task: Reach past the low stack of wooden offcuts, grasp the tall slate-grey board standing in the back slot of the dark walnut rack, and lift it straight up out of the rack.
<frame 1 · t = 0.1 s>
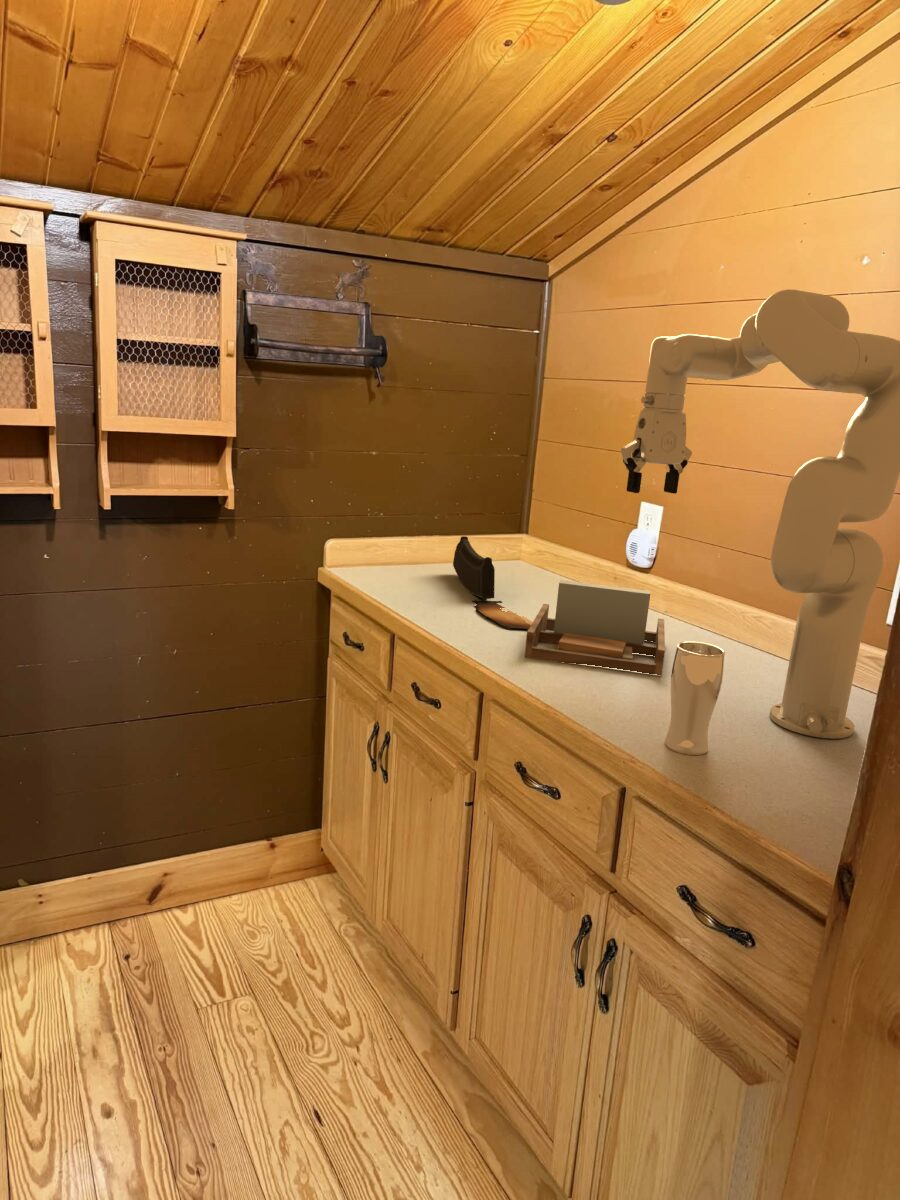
hand: (651, 492, 166), 31 cm above the worktop, tool pointing down, fingers open, 9 cm apart
rack: (596, 648, 167), on the worktop
beer glass: (685, 748, 122), on the worktop
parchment: (501, 618, 187), on the worktop
magazine: (471, 589, 211), on the worktop
offcut stack: (593, 659, 161), resting in rack
tall board: (597, 644, 171), resting in rack
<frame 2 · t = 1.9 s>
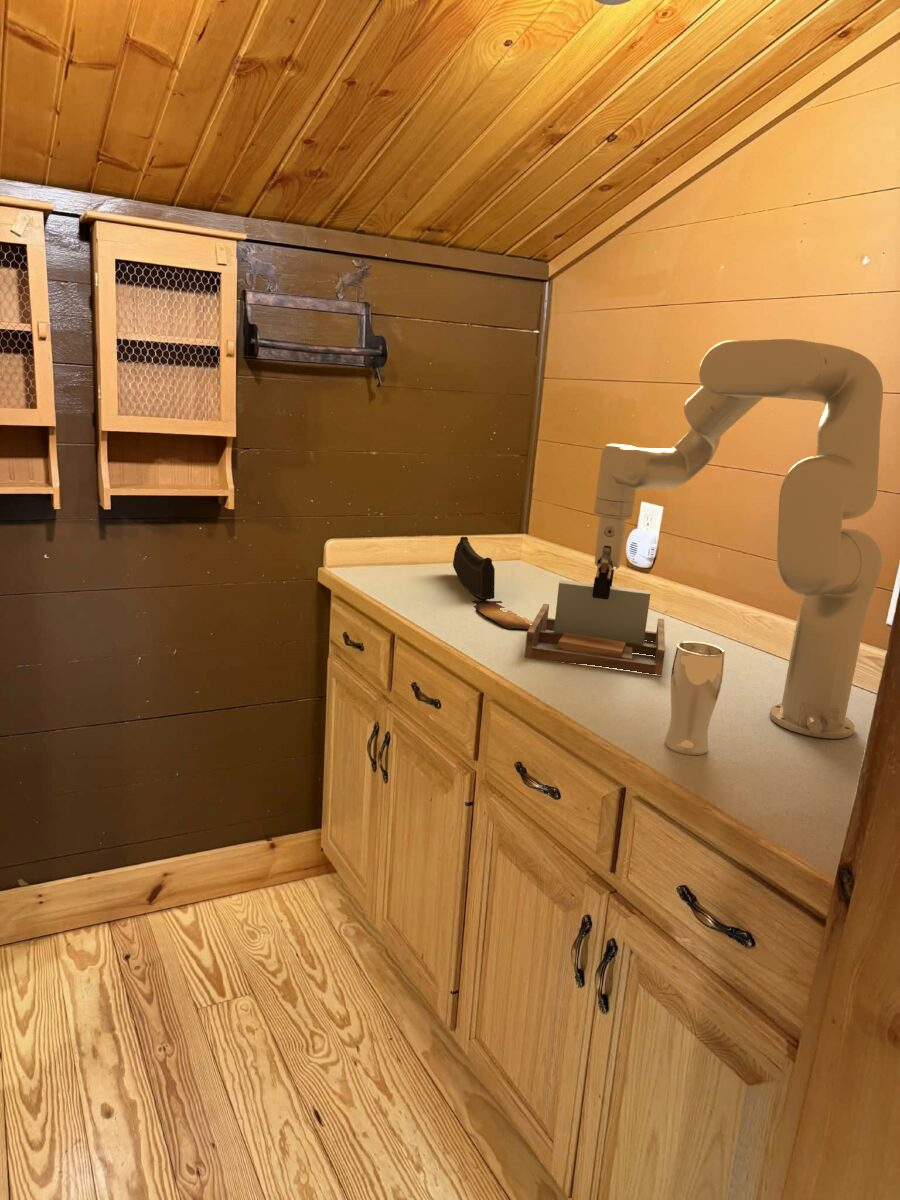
hand: (602, 592, 169), 11 cm above the worktop, tool pointing down, fingers open, 9 cm apart
nothing on the worktop moved.
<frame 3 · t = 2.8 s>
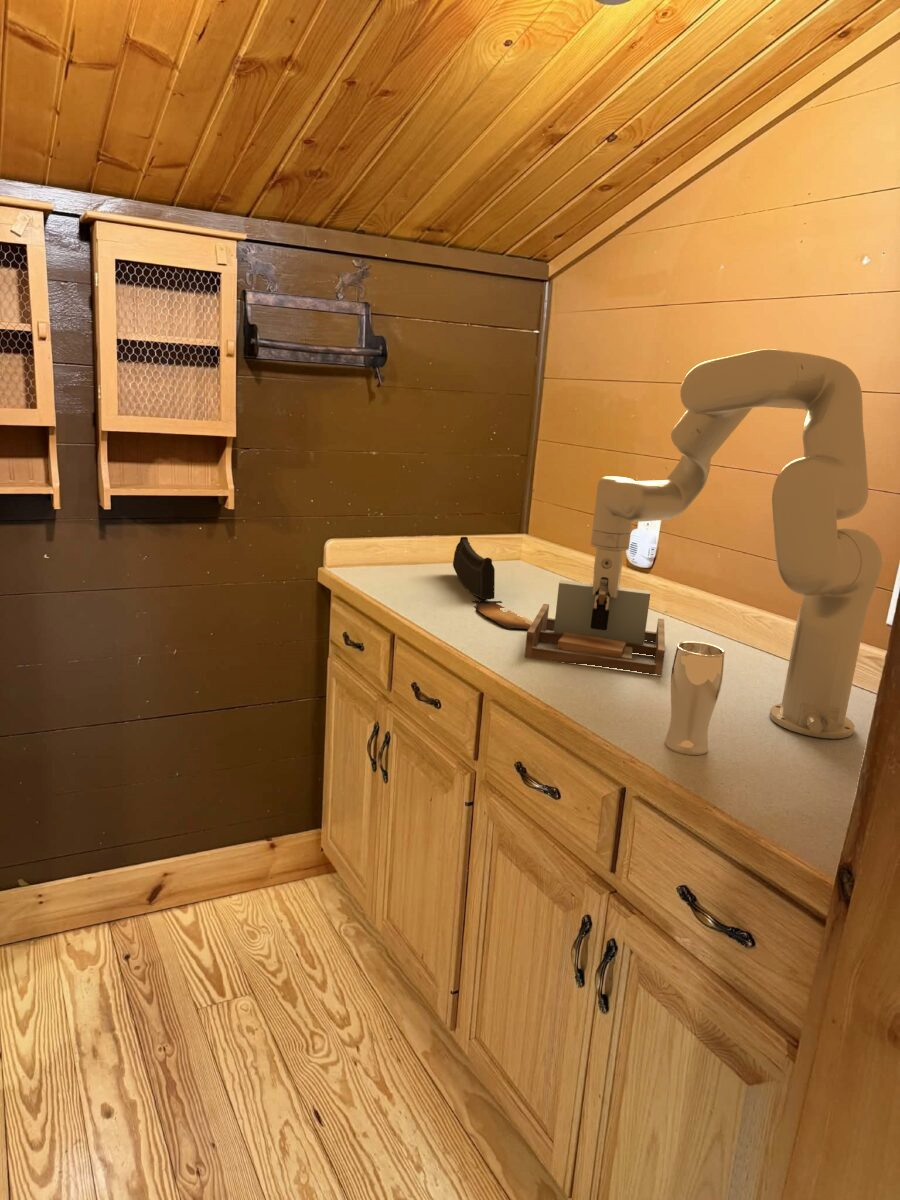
hand: (600, 623, 170), 4 cm above the worktop, tool pointing down, fingers open, 9 cm apart
nothing on the worktop moved.
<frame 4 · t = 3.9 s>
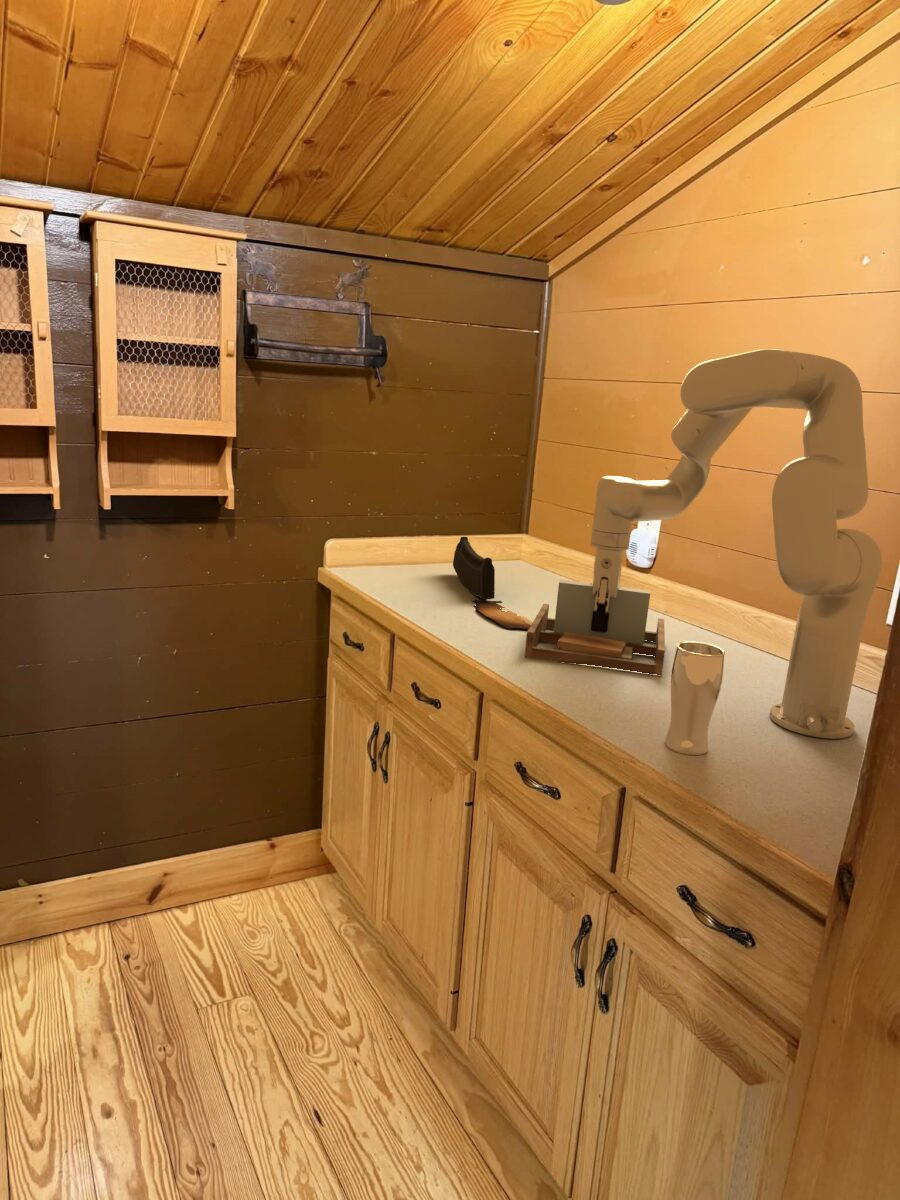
hand: (599, 628, 170), 3 cm above the worktop, tool pointing down, fingers closed on tall board, 3 cm apart
tall board: (597, 643, 171), resting in rack, touching gripper
everything else where it was.
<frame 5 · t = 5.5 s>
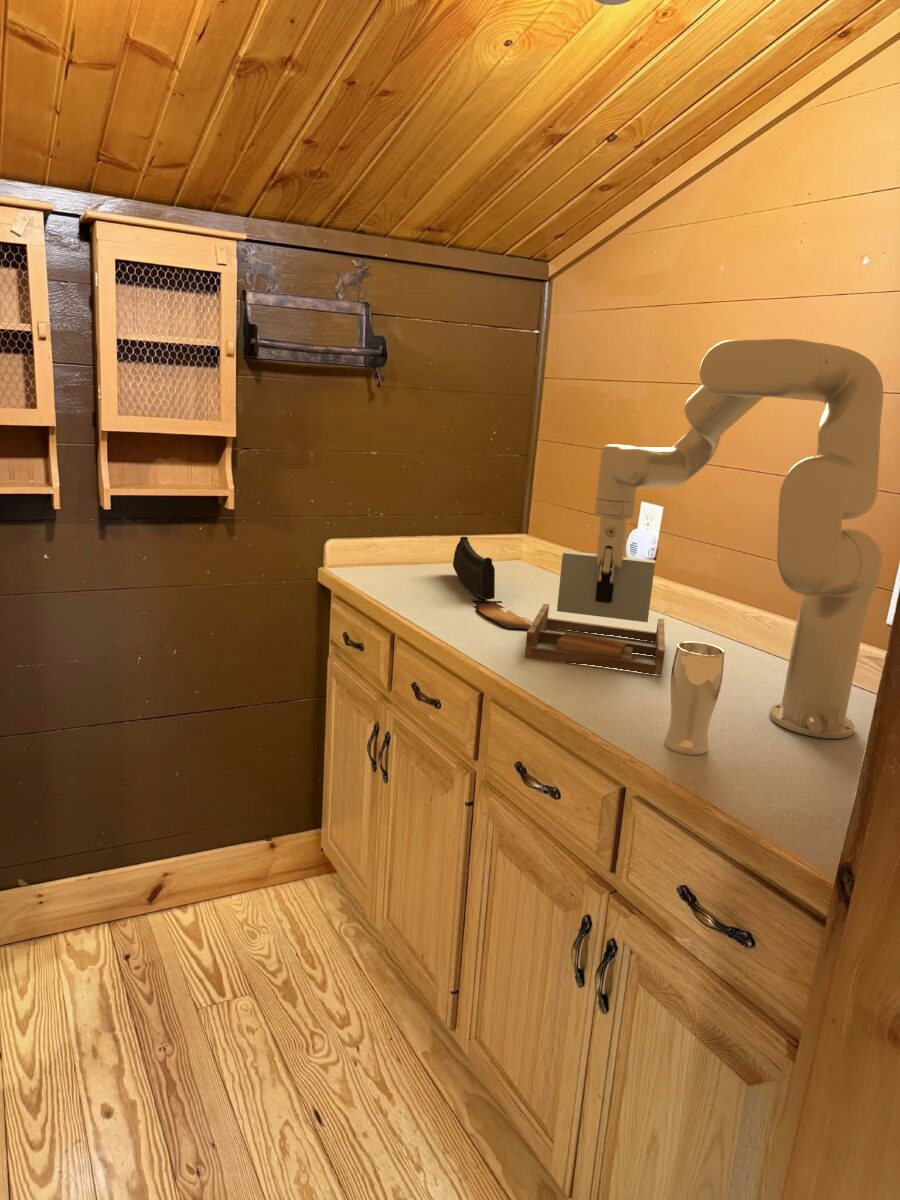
hand: (603, 599, 168), 9 cm above the worktop, tool pointing down, fingers closed on tall board, 3 cm apart
tall board: (602, 615, 169), point 6 cm above the worktop, touching gripper
everything else where it was.
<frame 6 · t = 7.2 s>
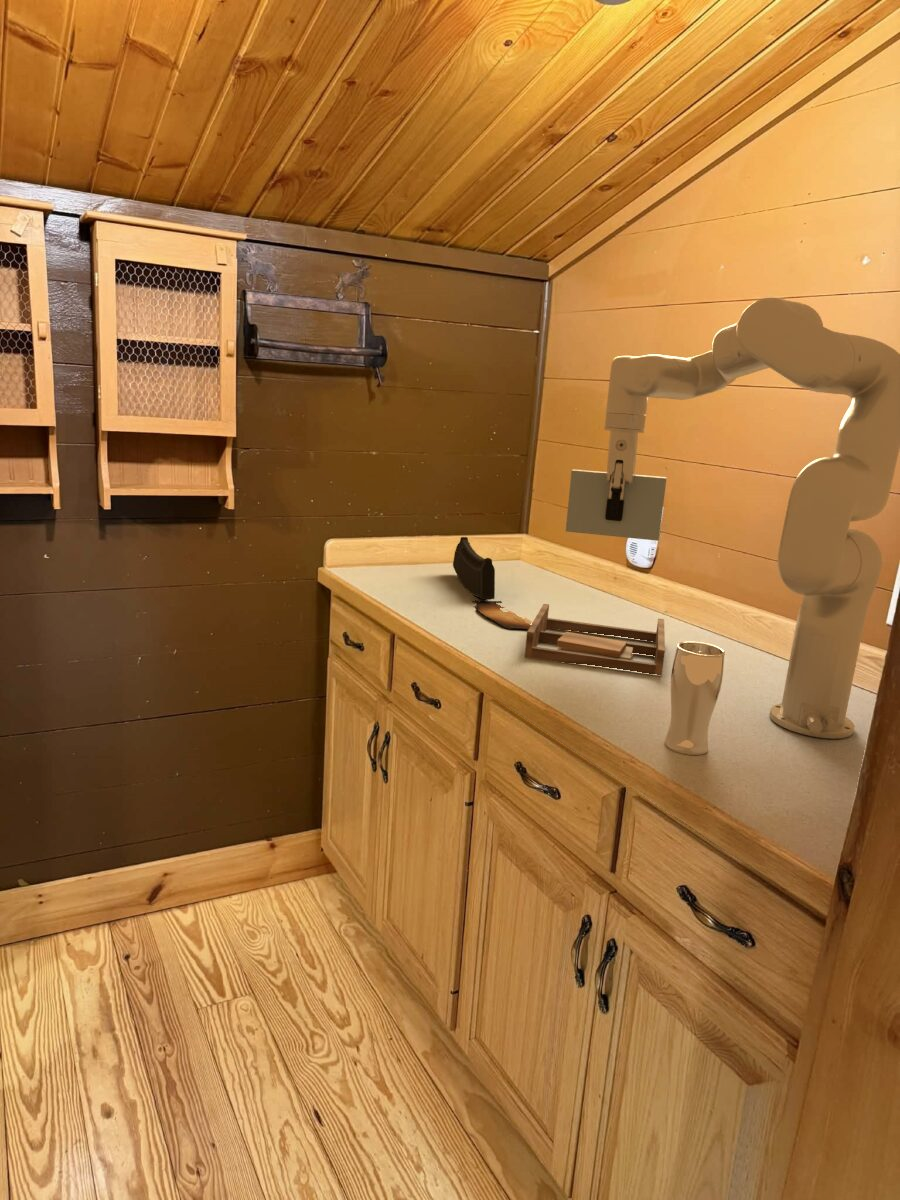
hand: (613, 518, 164), 26 cm above the worktop, tool pointing down, fingers closed on tall board, 3 cm apart
tall board: (611, 535, 165), point 22 cm above the worktop, touching gripper
everything else where it was.
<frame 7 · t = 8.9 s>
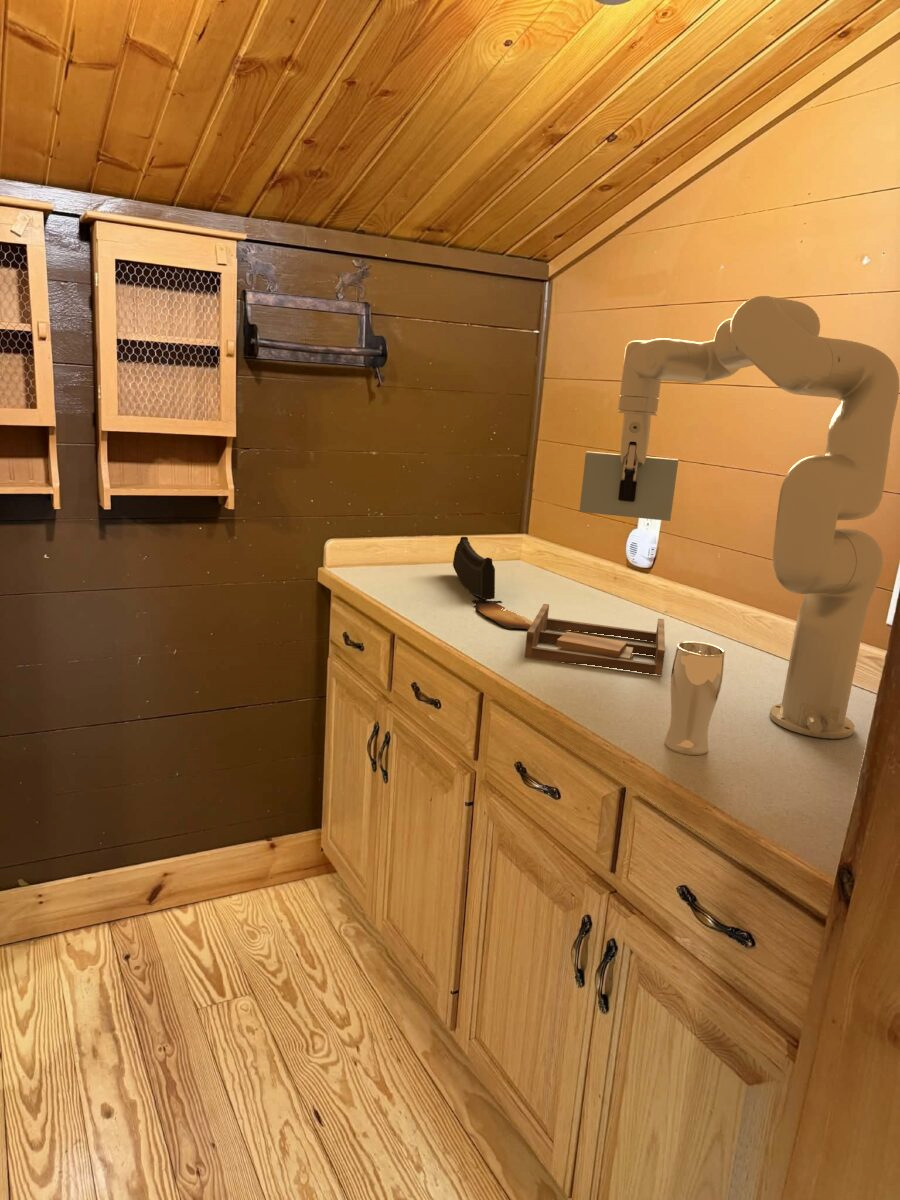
hand: (626, 499, 169), 29 cm above the worktop, tool pointing down, fingers closed on tall board, 3 cm apart
tall board: (624, 515, 170), point 26 cm above the worktop, touching gripper
everything else where it was.
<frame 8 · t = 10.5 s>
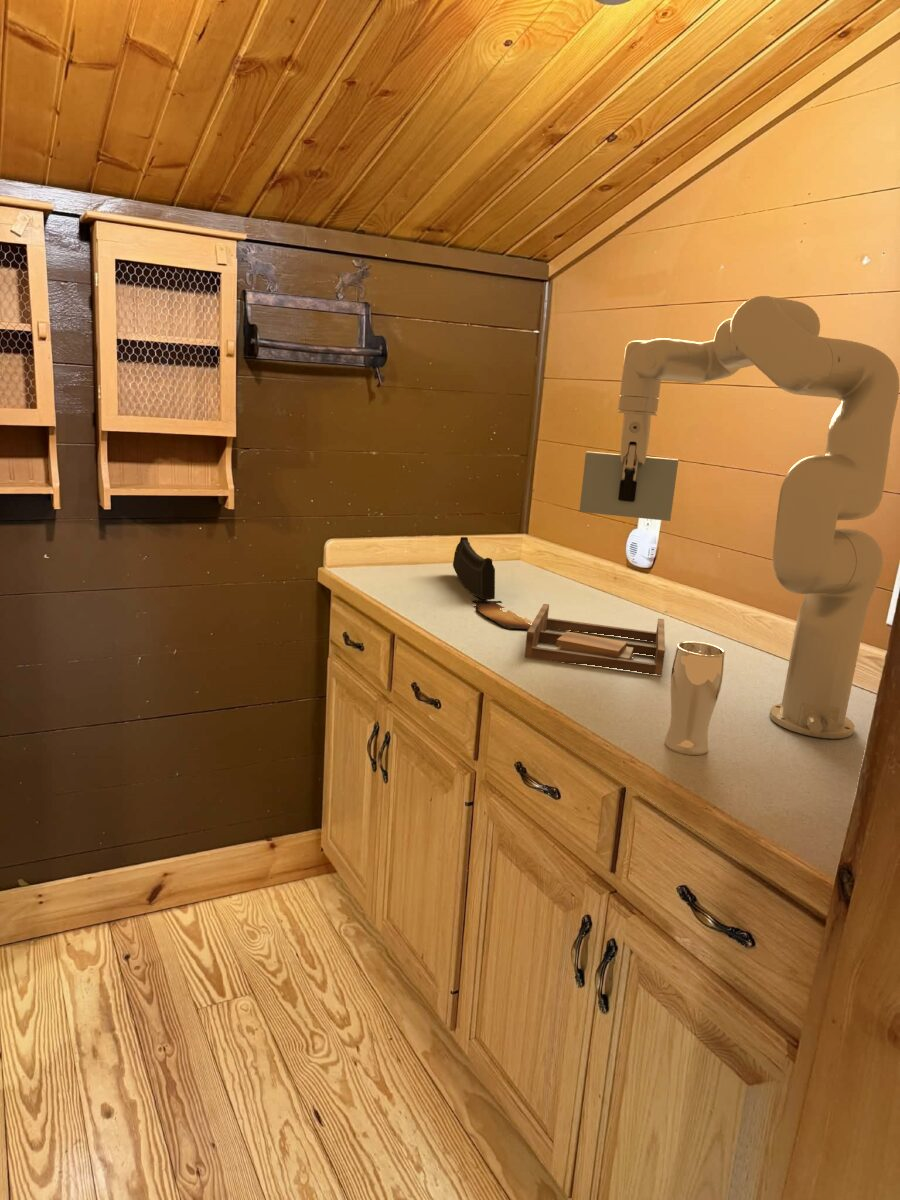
hand: (626, 499, 169), 29 cm above the worktop, tool pointing down, fingers closed on tall board, 3 cm apart
tall board: (624, 515, 170), point 26 cm above the worktop, touching gripper
everything else where it was.
at the end: the gripper is holding tall board; tall board point 25.8 cm above the worktop; offcut stack moved 0.8 cm from its start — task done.
